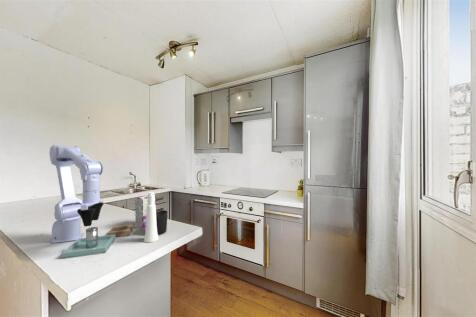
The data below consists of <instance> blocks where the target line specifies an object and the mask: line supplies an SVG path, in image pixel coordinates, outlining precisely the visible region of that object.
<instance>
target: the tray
mask: <svg viewBox="0 0 476 317" xmlns="http://www.w3.org/2000/svg"><path fill="white" fill-rule="evenodd" d="M116 238H117V237H116V234H114V235H108V234H106V235H98V246H97V247H95V248H91V249H87V248H86V237H80V238H79V239H78V240H75V241H74V242H73V243H71V245H70V246H68V247H67V248H66V249H65V250H64V251H63V252H62V253H61V260H63V259H70V258H78V257H84V256H91V255H99V254H106V253H107V251H108V250H109V249H110V247H111V246H112V244H113V243H114V241H115V240H116Z"/></svg>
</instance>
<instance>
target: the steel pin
mask: <svg viewBox="0 0 476 317" xmlns="http://www.w3.org/2000/svg"><path fill="white" fill-rule="evenodd" d="M98 236H99V227H97V226H90V227H88V228H86V229H85V238H86V248H87V249H91V248H95V247H97V246H98Z"/></svg>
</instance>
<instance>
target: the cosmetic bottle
mask: <svg viewBox="0 0 476 317" xmlns="http://www.w3.org/2000/svg"><path fill="white" fill-rule="evenodd" d="M147 195H148V205H147V213H146V228H145V232H144V239H143V242H144V243H147V244H149V243H155V242H156V241H157V242H158V240H159V235H158V233H157V223H156V212H157V208H156V194H155V192H154V191H149V192H148V194H147Z"/></svg>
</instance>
